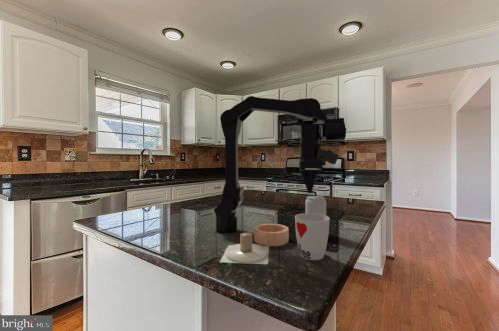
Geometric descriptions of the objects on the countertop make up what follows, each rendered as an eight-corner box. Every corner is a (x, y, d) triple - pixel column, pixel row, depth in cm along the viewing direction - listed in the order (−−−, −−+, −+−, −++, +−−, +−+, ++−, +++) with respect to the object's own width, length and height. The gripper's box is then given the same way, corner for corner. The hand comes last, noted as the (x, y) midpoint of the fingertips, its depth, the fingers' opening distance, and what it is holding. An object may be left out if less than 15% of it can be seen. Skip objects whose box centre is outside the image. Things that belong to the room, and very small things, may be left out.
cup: (291, 252, 62) (291, 213, 62) (321, 250, 63) (321, 212, 63) (300, 265, 54) (300, 221, 54) (335, 264, 55) (335, 220, 55)
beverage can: (327, 238, 73) (327, 198, 73) (305, 236, 75) (305, 198, 74) (325, 231, 79) (325, 195, 79) (305, 230, 81) (305, 195, 80)
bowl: (253, 247, 66) (252, 232, 66) (255, 236, 75) (255, 223, 75) (289, 248, 65) (289, 233, 65) (287, 236, 74) (287, 224, 74)
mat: (219, 264, 55) (219, 262, 55) (228, 247, 66) (228, 245, 66) (267, 266, 54) (267, 264, 54) (269, 248, 65) (269, 246, 65)
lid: (221, 261, 55) (220, 240, 55) (229, 245, 65) (229, 228, 65) (266, 263, 54) (266, 242, 54) (267, 246, 64) (267, 229, 64)
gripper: (342, 137, 64) (341, 196, 65) (332, 142, 83) (331, 188, 83) (300, 138, 67) (299, 194, 67) (299, 143, 85) (298, 187, 85)
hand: (309, 190), depth 76 cm, fingers open, 9 cm apart
